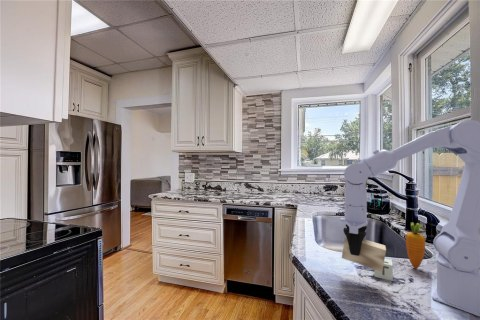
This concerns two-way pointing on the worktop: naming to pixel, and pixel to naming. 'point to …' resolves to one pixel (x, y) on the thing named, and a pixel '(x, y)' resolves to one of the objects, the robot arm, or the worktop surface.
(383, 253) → the beech block
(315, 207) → the worktop surface
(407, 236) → the carrot
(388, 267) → the lettered cube
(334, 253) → the worktop surface
